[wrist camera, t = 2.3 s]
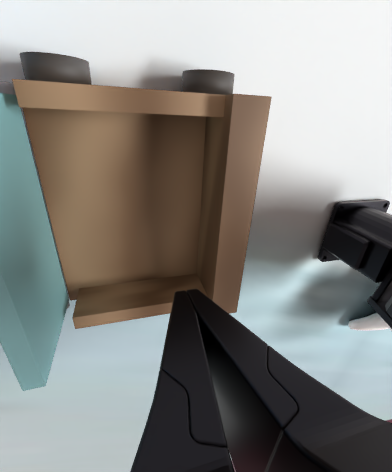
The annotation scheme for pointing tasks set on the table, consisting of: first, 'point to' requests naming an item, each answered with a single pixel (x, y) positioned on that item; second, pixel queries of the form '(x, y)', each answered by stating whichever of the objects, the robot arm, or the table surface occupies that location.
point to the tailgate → (26, 256)
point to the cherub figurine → (369, 323)
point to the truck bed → (143, 184)
